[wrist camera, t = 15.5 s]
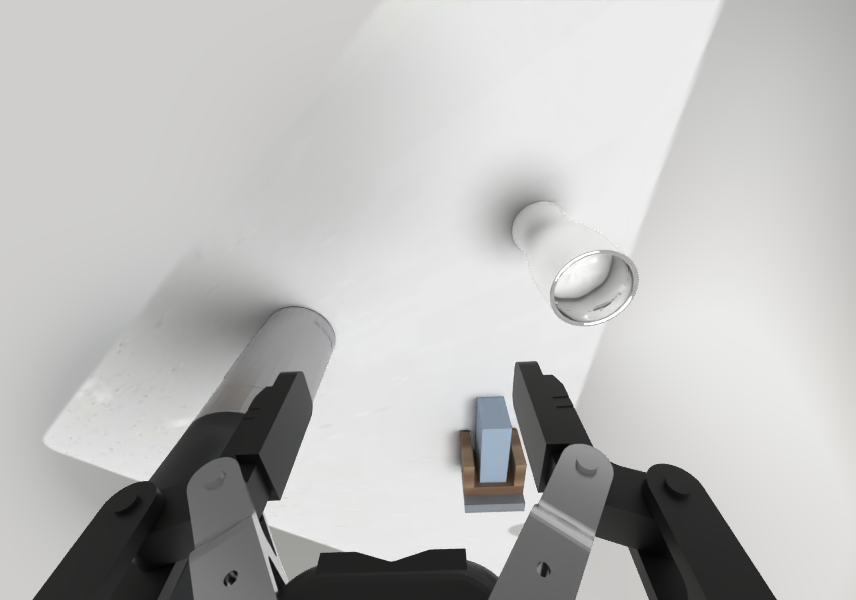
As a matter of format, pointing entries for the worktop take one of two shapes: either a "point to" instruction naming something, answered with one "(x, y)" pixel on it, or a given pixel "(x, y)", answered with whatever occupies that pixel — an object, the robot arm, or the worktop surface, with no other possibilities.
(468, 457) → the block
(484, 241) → the worktop surface
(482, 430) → the peg
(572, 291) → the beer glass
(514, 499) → the wall
